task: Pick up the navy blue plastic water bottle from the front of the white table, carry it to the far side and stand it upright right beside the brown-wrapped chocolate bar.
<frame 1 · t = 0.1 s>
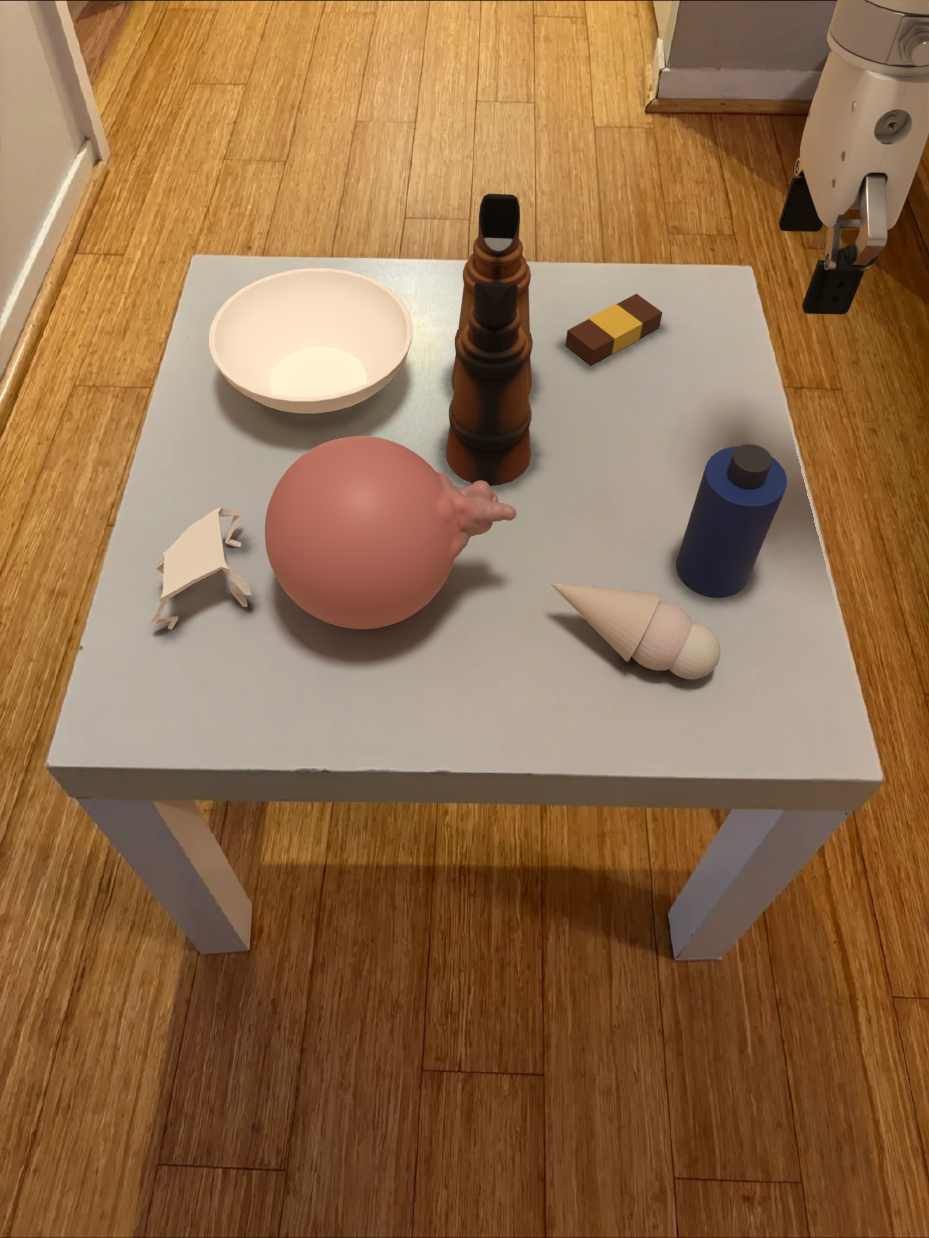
hand: (810, 269, 72), 24 cm above the table, tool pointing down, fingers open, 9 cm apart
ice cream cone: (626, 646, 82), on the table
water bottle: (712, 568, 87), on the table
bowl: (319, 386, 100), on the table
balloon: (395, 591, 85), on the table
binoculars: (489, 418, 97), on the table
chocolate bar: (612, 336, 104), on the table
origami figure: (215, 582, 86), on the table
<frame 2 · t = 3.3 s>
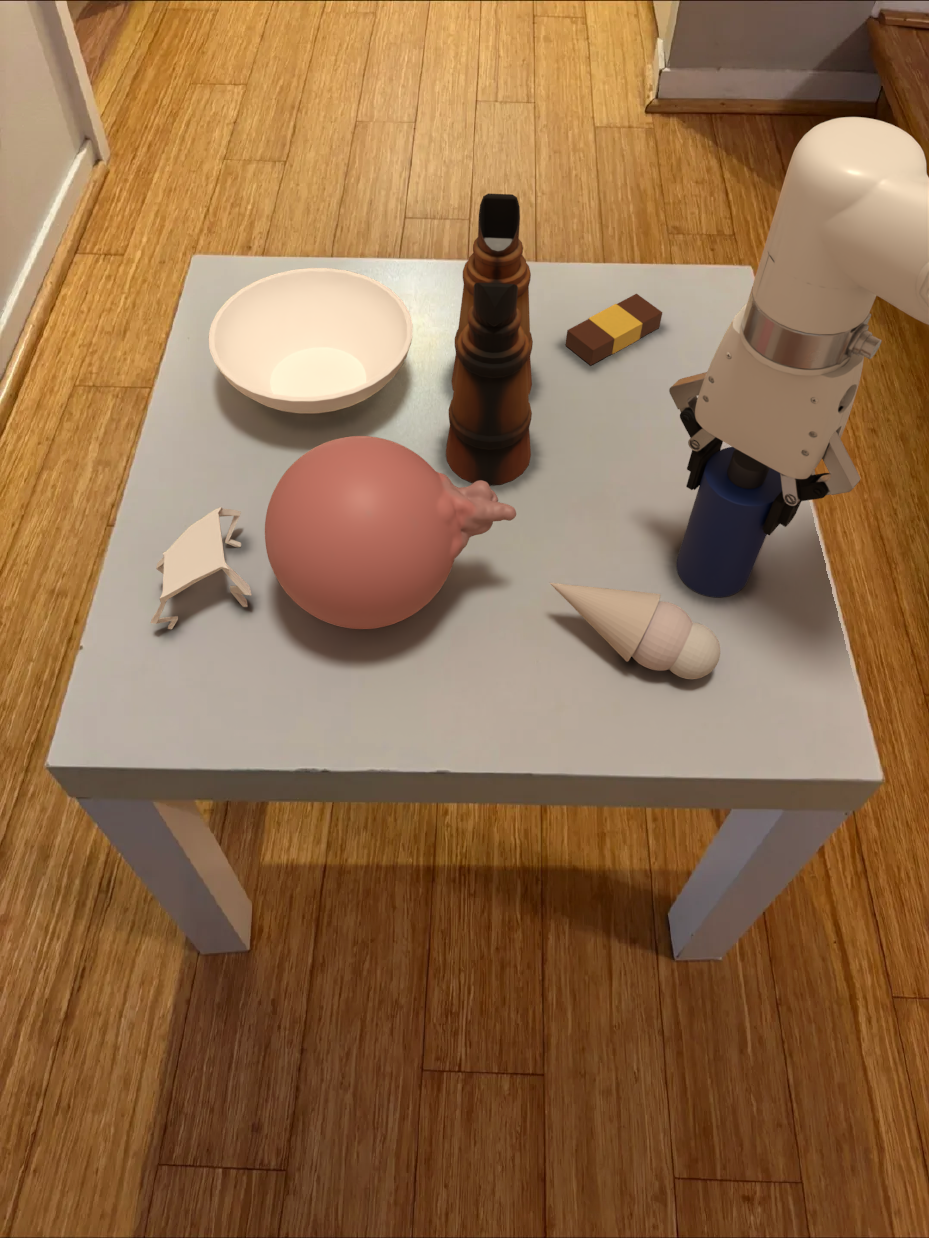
hand: (736, 500, 79), 9 cm above the table, tool pointing down, fingers closed on water bottle, 6 cm apart
water bottle: (712, 568, 87), on the table, touching gripper
everything else where it was.
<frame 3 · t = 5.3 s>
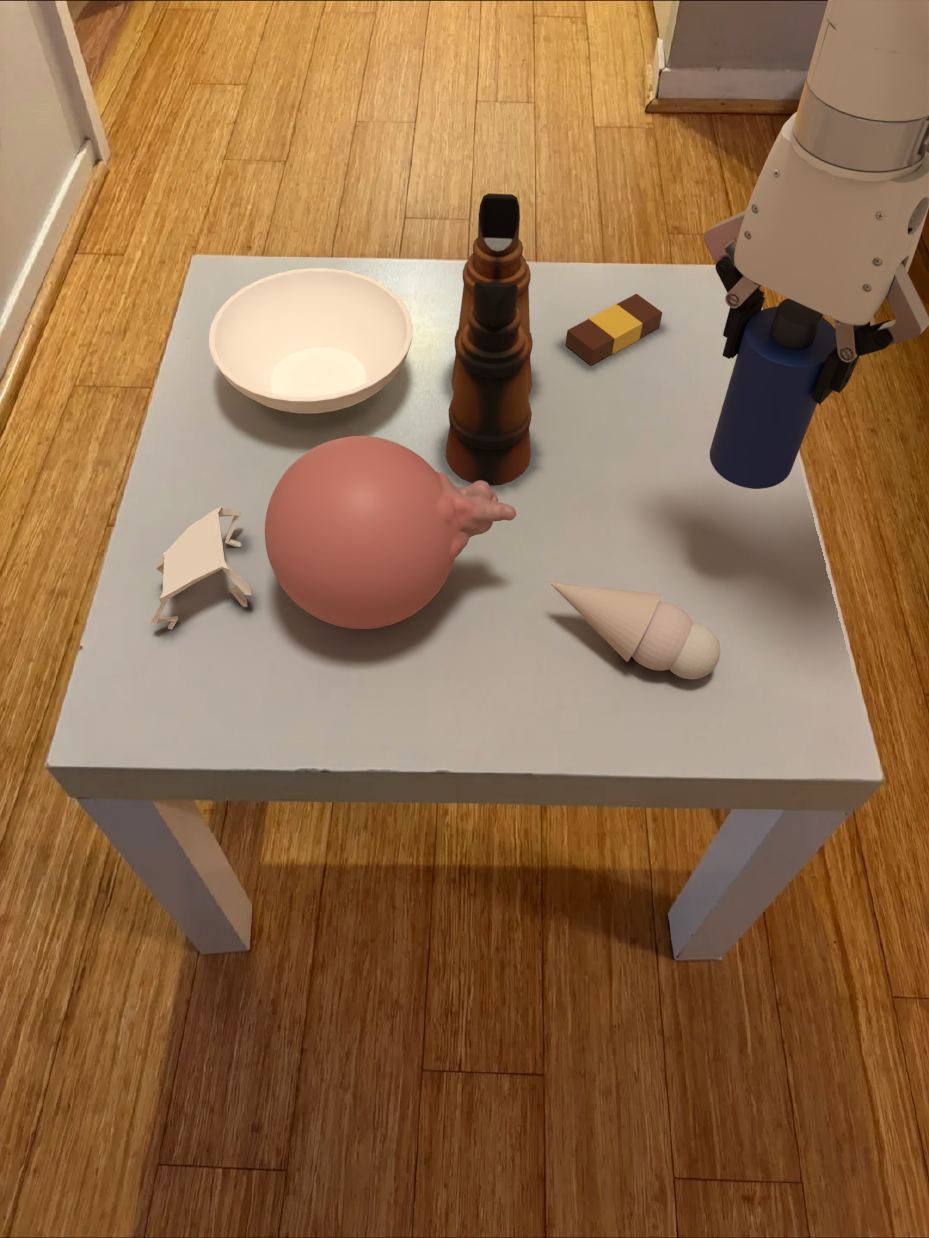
hand: (780, 368, 70), 22 cm above the table, tool pointing down, fingers closed on water bottle, 6 cm apart
water bottle: (750, 459, 77), point 13 cm above the table, touching gripper
everything else where it was.
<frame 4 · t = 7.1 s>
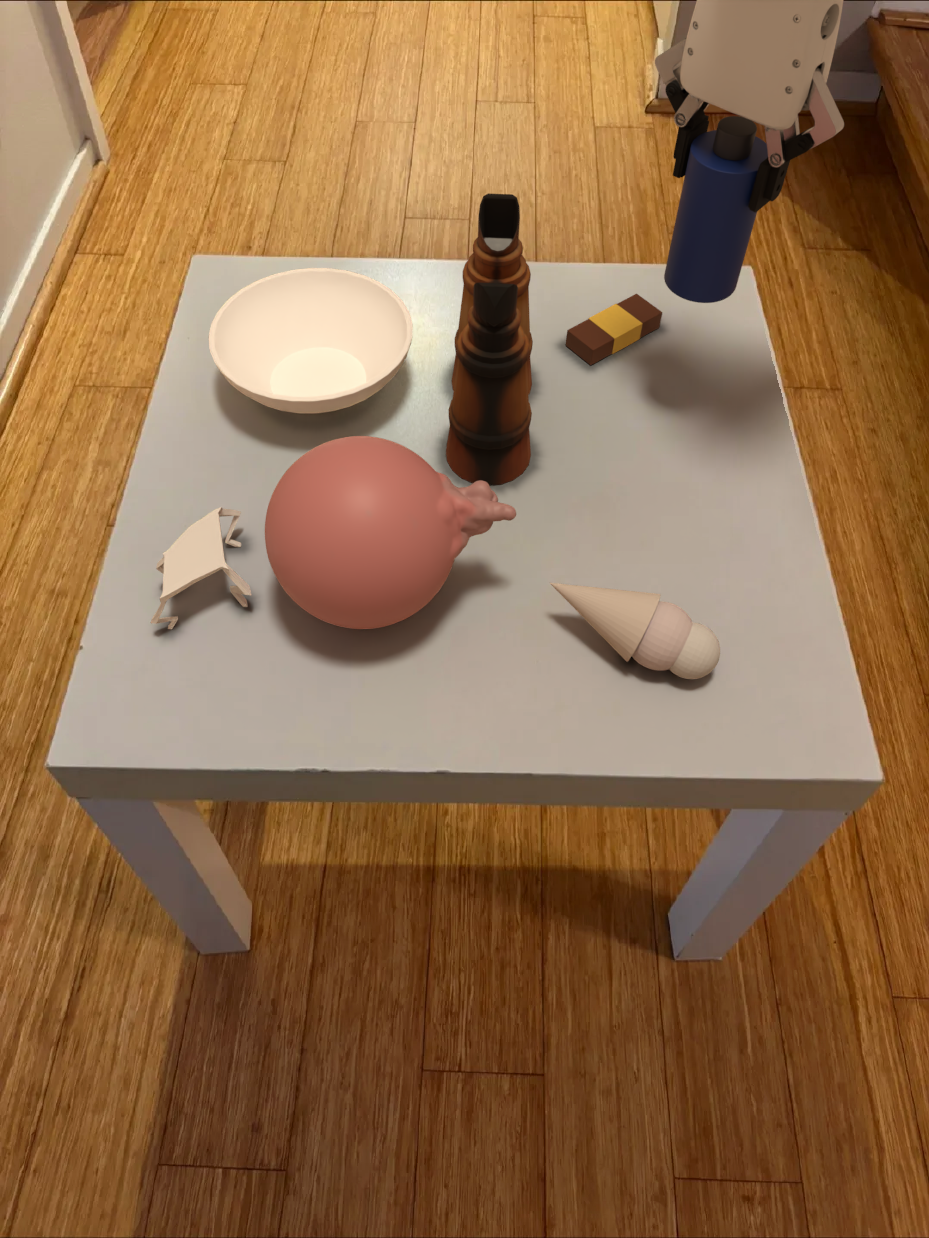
hand: (723, 185, 80), 23 cm above the table, tool pointing down, fingers closed on water bottle, 6 cm apart
water bottle: (700, 280, 87), point 14 cm above the table, touching gripper
everything else where it was.
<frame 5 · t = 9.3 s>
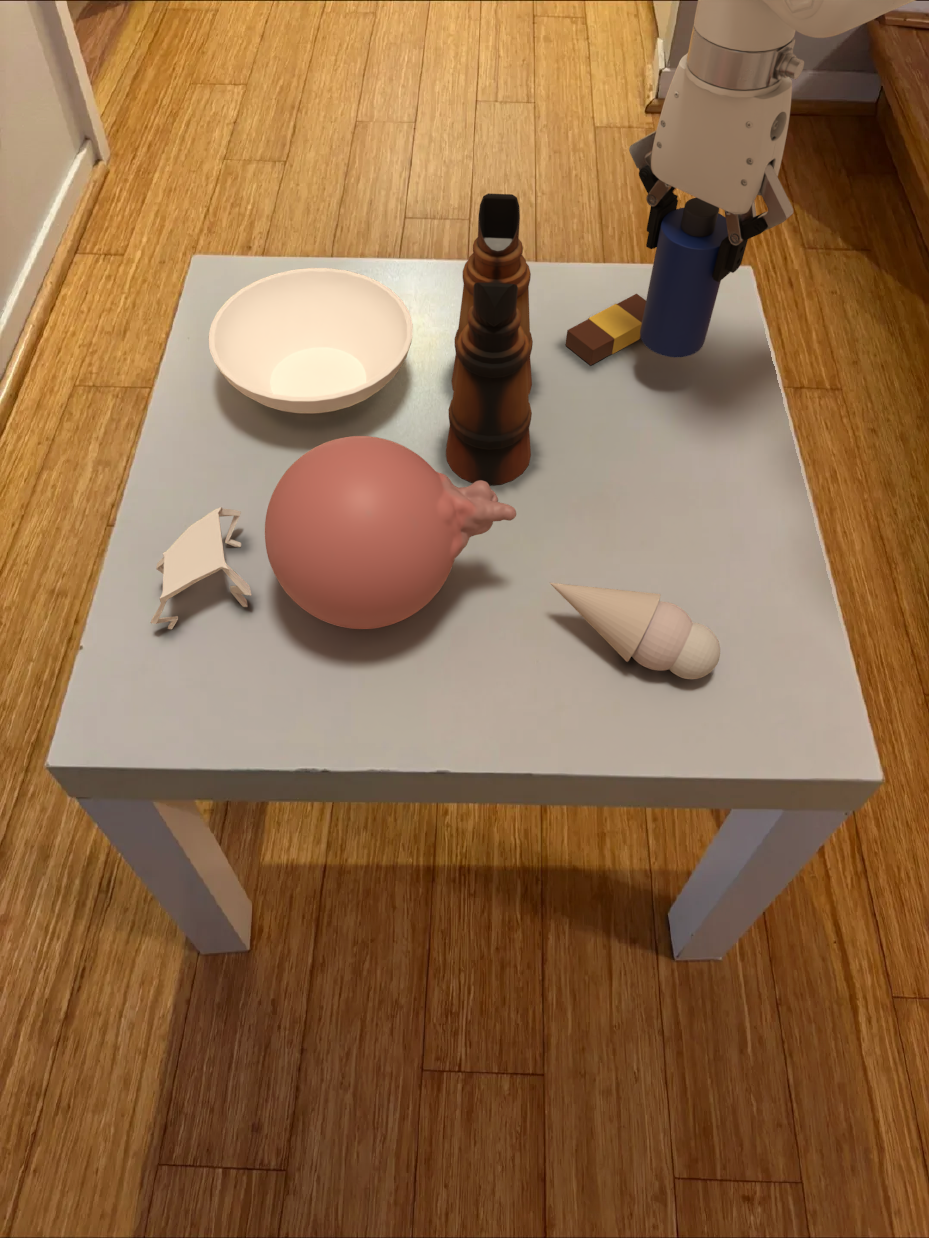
hand: (690, 256, 90), 14 cm above the table, tool pointing down, fingers closed on water bottle, 6 cm apart
water bottle: (672, 336, 97), point 5 cm above the table, touching gripper
everything else where it was.
when the fingers open (9 cm above the table, at t = 11.0 s): water bottle stays where it is, on the table.
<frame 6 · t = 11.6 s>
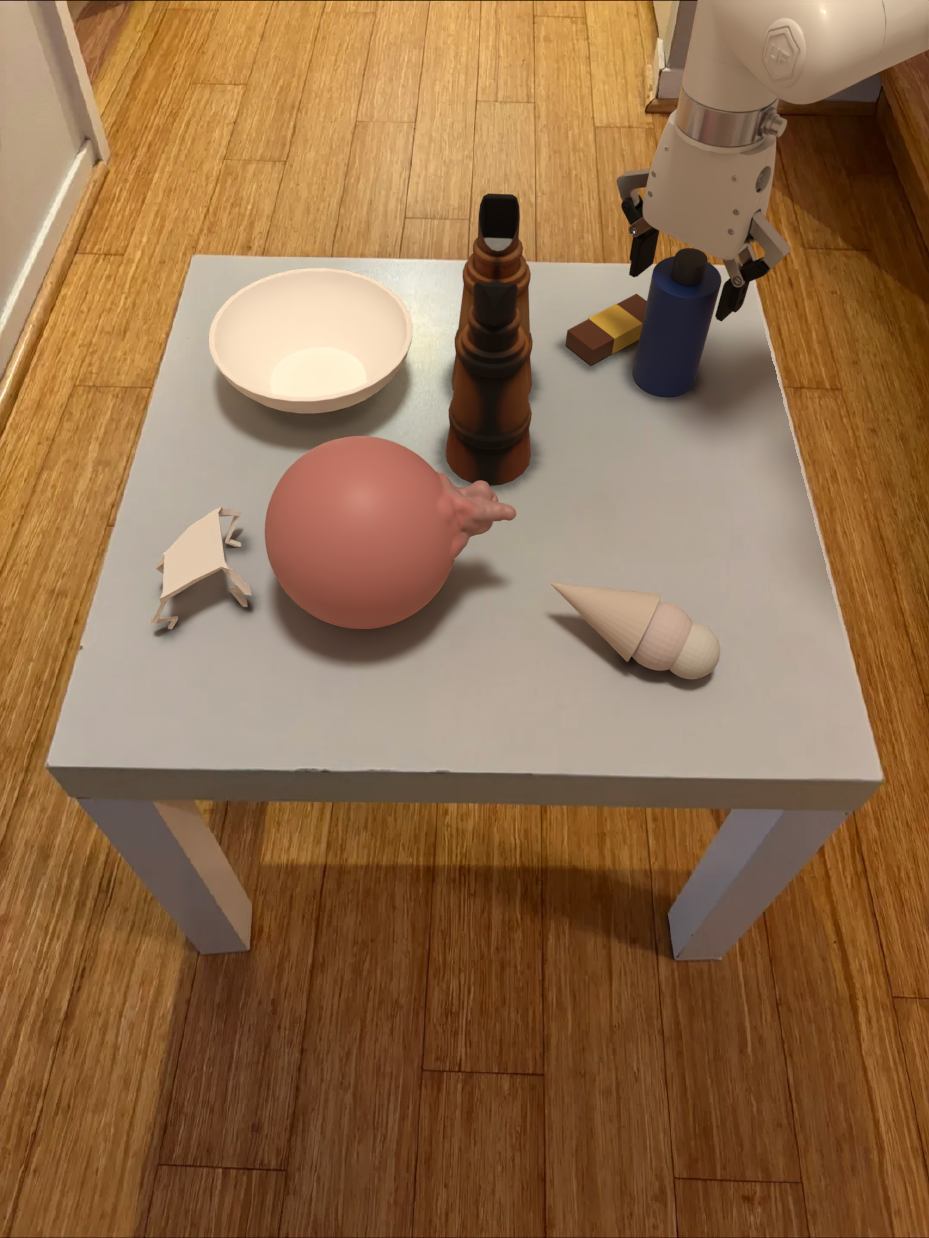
hand: (682, 291, 93), 10 cm above the table, tool pointing down, fingers open, 9 cm apart
water bottle: (663, 375, 101), on the table
everything else where it was.
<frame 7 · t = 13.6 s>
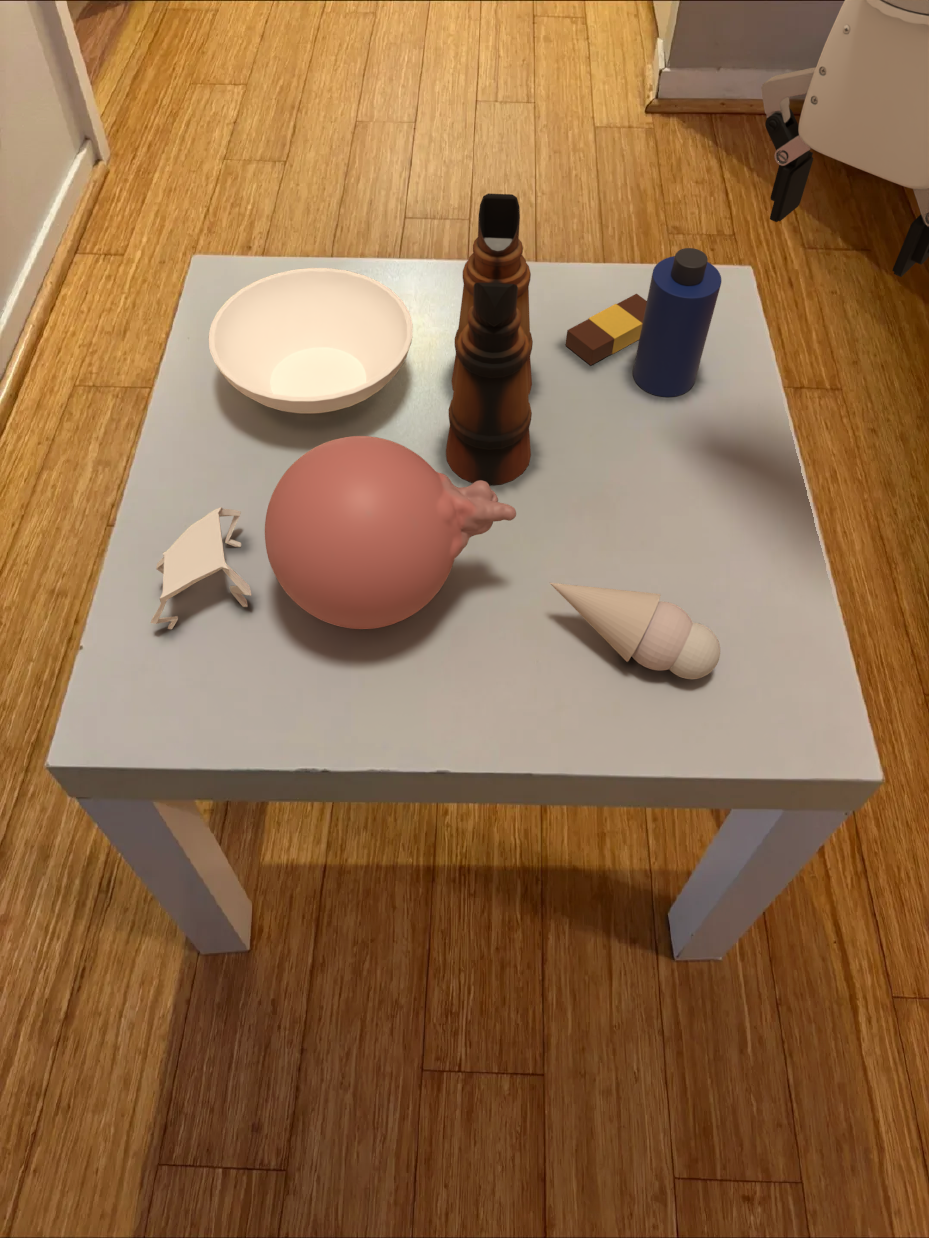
hand: (843, 239, 70), 27 cm above the table, tool pointing down, fingers open, 9 cm apart
nothing on the table moved.
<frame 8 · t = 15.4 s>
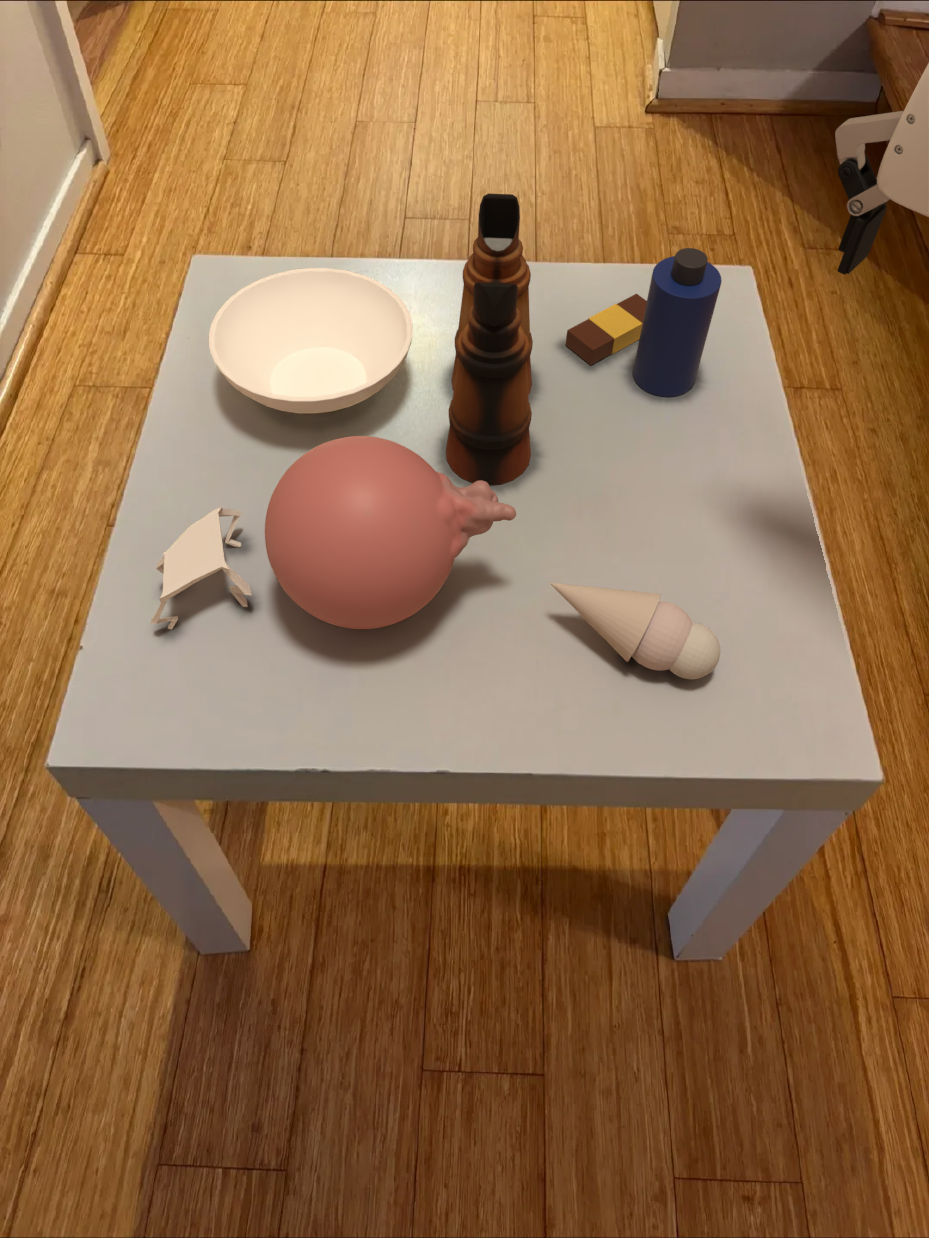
hand: (918, 295, 64), 28 cm above the table, tool pointing down, fingers open, 9 cm apart
nothing on the table moved.
at the end: water bottle inside the target area on the table beside the chocolate bar (0.5 cm from its centre), on the table; water bottle tilted 0°; the gripper is holding nothing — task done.
